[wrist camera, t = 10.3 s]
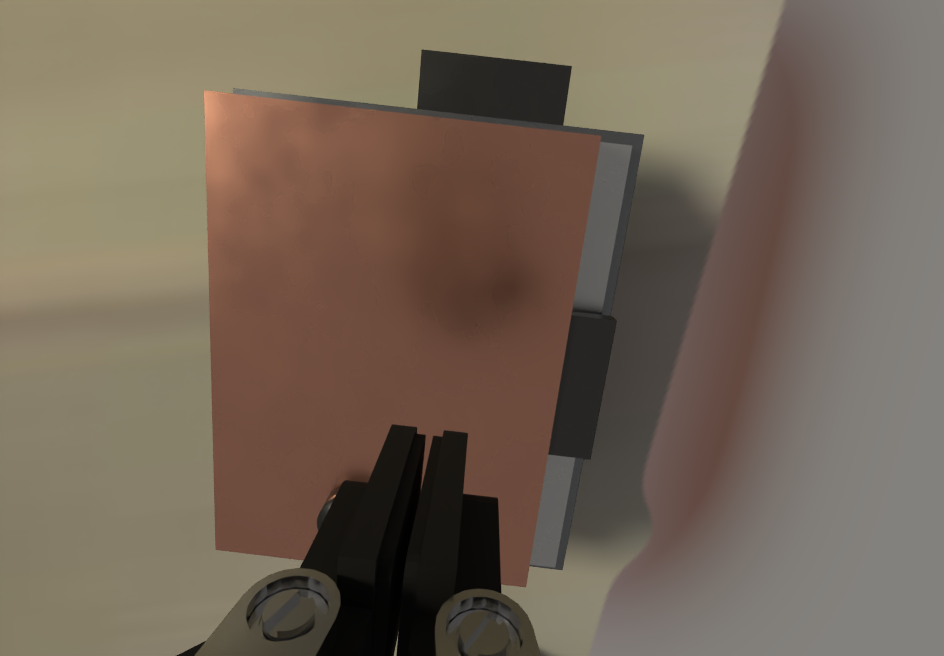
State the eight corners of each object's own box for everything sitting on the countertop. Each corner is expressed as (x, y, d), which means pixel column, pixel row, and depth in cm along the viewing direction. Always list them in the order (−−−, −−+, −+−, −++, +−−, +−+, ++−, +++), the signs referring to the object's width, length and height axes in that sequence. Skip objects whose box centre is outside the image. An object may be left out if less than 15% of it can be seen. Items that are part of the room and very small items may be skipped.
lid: (216, 99, 19) (168, 80, 16) (638, 147, 19) (664, 136, 16) (224, 524, 23) (188, 567, 21) (560, 564, 23) (570, 613, 20)
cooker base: (322, 83, 28) (225, 13, 18) (609, 115, 28) (678, 64, 18) (310, 467, 34) (233, 578, 24) (545, 495, 34) (568, 620, 24)
